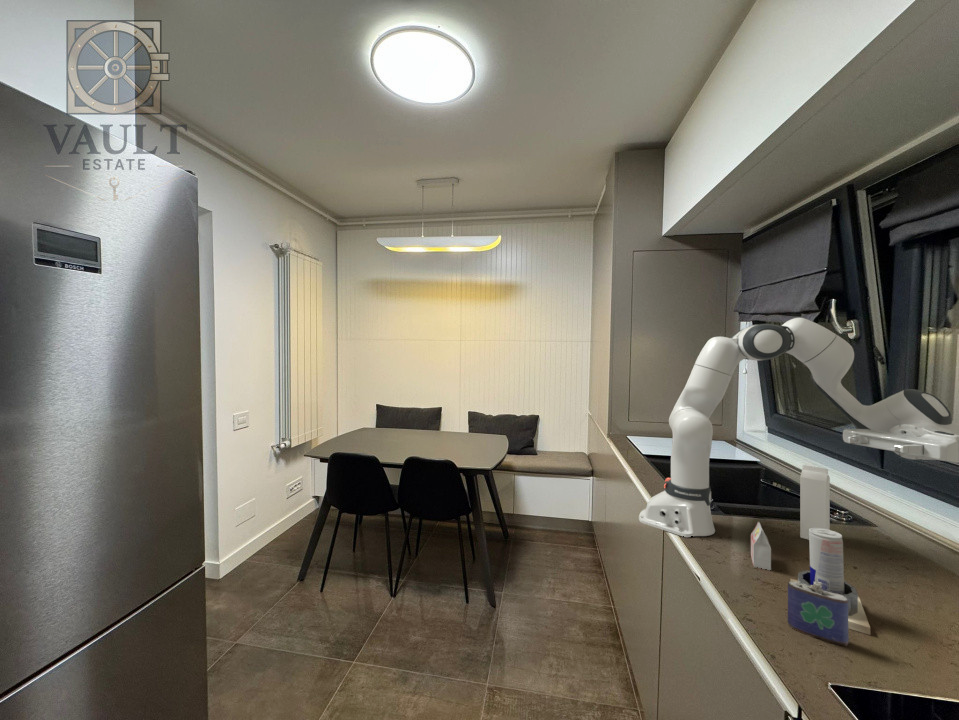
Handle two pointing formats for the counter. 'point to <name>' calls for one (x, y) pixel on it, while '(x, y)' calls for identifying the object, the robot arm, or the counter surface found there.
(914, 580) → the counter surface
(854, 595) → the collar stand
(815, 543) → the beverage can
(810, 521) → the milk
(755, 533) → the small drink carton
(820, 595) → the flask
